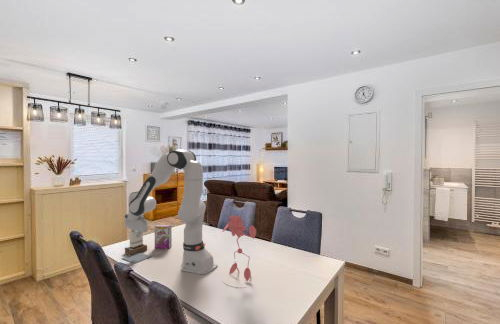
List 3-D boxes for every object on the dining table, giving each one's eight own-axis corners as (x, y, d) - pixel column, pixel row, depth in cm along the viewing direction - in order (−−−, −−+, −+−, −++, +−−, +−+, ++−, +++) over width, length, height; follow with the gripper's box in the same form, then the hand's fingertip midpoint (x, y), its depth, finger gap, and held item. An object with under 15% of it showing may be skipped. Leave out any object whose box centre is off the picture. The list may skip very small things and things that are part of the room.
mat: (151, 256, 158) (151, 256, 158) (134, 263, 147) (134, 263, 147) (138, 252, 165) (138, 252, 165) (121, 258, 155) (121, 258, 155)
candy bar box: (154, 248, 172) (154, 226, 172) (157, 246, 177) (157, 224, 177) (169, 249, 171) (168, 226, 171) (172, 246, 176) (171, 224, 176)
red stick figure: (229, 267, 142) (228, 209, 140) (263, 281, 124) (262, 216, 123) (209, 277, 130) (208, 214, 129) (244, 295, 113) (242, 222, 112)
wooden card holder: (147, 250, 169) (147, 244, 169) (131, 255, 159) (131, 250, 159) (140, 247, 174) (140, 242, 174) (124, 253, 164) (124, 247, 164)
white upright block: (142, 243, 158) (142, 230, 158) (132, 247, 152) (132, 233, 152) (139, 243, 160) (139, 229, 160) (129, 246, 154) (129, 232, 154)
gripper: (150, 216, 153) (150, 237, 153) (131, 213, 164) (132, 232, 164) (141, 218, 148) (141, 240, 148) (122, 214, 159) (123, 235, 159)
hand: (136, 236), depth 156 cm, fingers closed on white upright block, 3 cm apart
